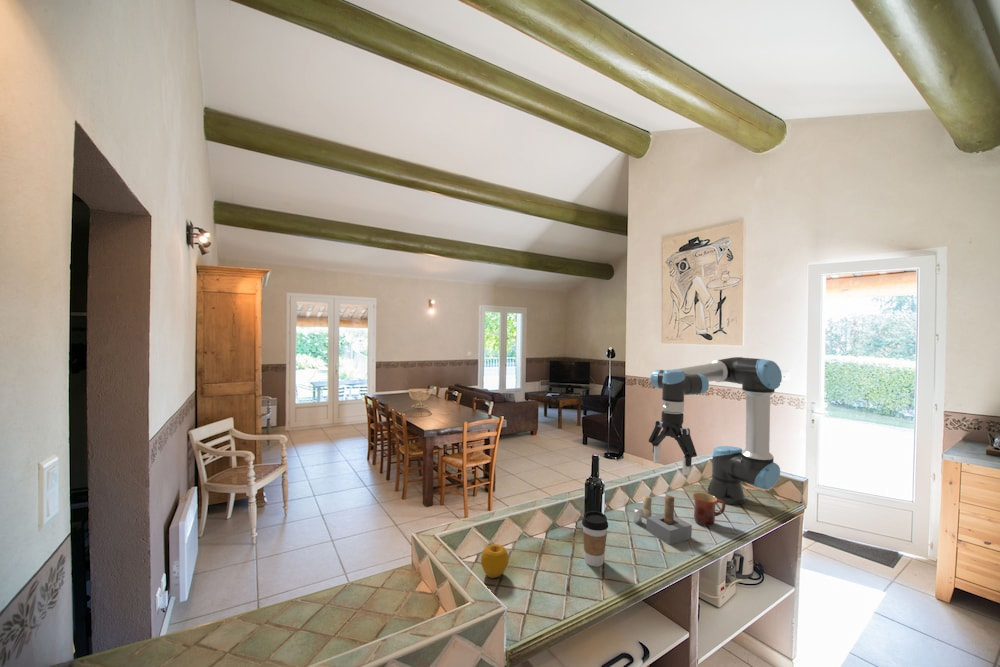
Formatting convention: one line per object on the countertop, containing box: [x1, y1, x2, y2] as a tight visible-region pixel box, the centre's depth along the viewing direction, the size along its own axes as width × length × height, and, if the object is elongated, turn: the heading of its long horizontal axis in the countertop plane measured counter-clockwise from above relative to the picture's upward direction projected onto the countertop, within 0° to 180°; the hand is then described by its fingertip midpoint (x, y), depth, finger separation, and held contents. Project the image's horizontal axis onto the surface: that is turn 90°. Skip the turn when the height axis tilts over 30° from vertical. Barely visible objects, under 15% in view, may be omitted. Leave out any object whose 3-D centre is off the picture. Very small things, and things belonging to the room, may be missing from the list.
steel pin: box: [633, 507, 643, 526], centre depth 164 cm, size 3×3×5 cm
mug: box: [692, 492, 726, 527], centre depth 165 cm, size 12×9×10 cm
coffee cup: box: [581, 510, 609, 568], centre depth 136 cm, size 8×8×15 cm
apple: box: [480, 543, 509, 579], centre depth 128 cm, size 8×8×9 cm
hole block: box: [645, 513, 693, 545], centre depth 155 cm, size 11×11×5 cm
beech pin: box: [642, 495, 653, 519], centre depth 169 cm, size 3×3×8 cm
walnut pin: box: [664, 495, 675, 525], centre depth 155 cm, size 3×3×14 cm
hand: (670, 468), depth 155 cm, fingers open, 13 cm apart
